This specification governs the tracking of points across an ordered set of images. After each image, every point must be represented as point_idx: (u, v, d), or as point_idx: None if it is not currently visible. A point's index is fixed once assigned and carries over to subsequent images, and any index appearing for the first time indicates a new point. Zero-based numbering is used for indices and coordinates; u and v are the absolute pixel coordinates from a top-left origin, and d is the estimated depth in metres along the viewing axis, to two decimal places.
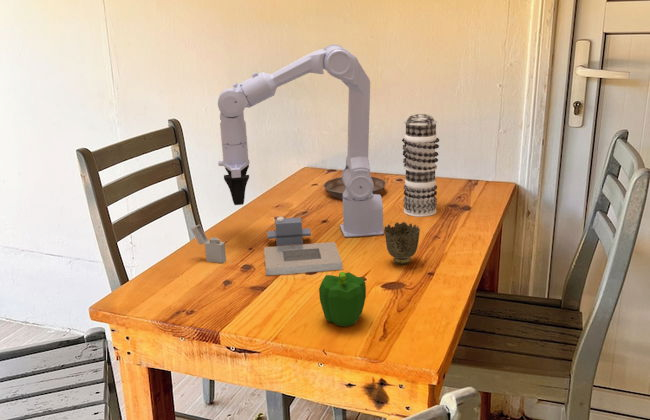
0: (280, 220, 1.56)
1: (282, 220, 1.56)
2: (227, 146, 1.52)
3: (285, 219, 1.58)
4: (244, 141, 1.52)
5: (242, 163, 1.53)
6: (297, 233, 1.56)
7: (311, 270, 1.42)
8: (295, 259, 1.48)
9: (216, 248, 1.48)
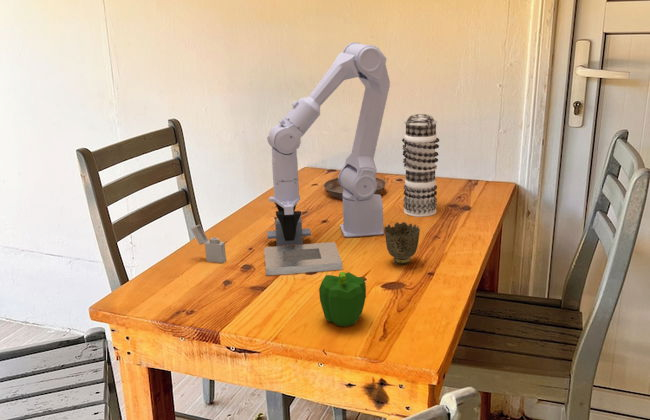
0: None
1: None
2: (279, 182, 1.51)
3: None
4: (297, 176, 1.53)
5: (293, 199, 1.53)
6: (297, 233, 1.56)
7: (311, 270, 1.42)
8: (295, 259, 1.48)
9: (216, 248, 1.48)
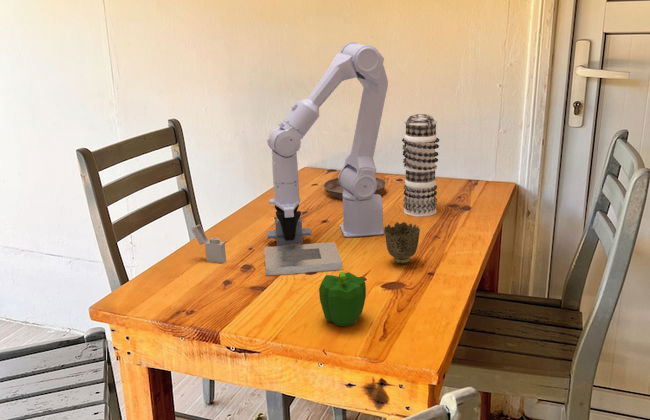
0: None
1: None
2: (279, 185, 1.52)
3: None
4: (297, 179, 1.53)
5: (294, 202, 1.53)
6: (297, 233, 1.56)
7: (311, 270, 1.42)
8: (295, 259, 1.48)
9: (216, 248, 1.48)
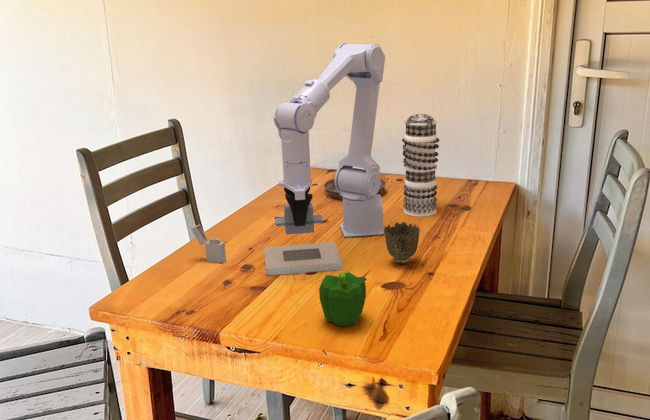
0: (289, 206, 1.43)
1: None
2: (289, 165, 1.39)
3: None
4: None
5: (305, 183, 1.40)
6: (308, 220, 1.43)
7: (311, 270, 1.42)
8: (295, 259, 1.48)
9: (216, 248, 1.48)
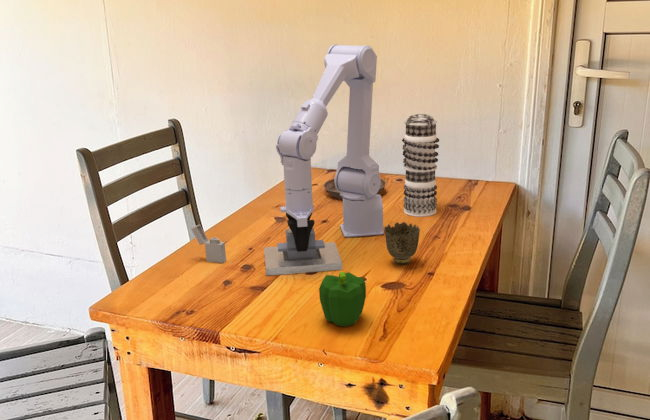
0: (291, 231, 1.44)
1: None
2: (291, 192, 1.40)
3: None
4: None
5: (307, 210, 1.41)
6: (310, 245, 1.45)
7: (311, 270, 1.42)
8: (295, 259, 1.48)
9: (216, 248, 1.48)
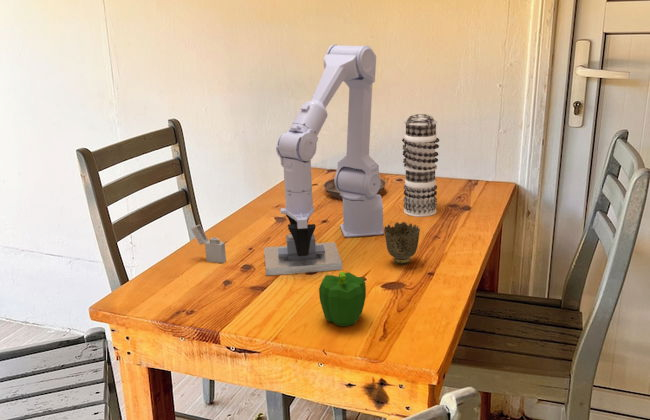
0: (292, 237, 1.45)
1: None
2: (291, 193, 1.40)
3: None
4: None
5: (307, 211, 1.42)
6: (310, 251, 1.45)
7: (311, 270, 1.42)
8: None
9: (216, 248, 1.48)
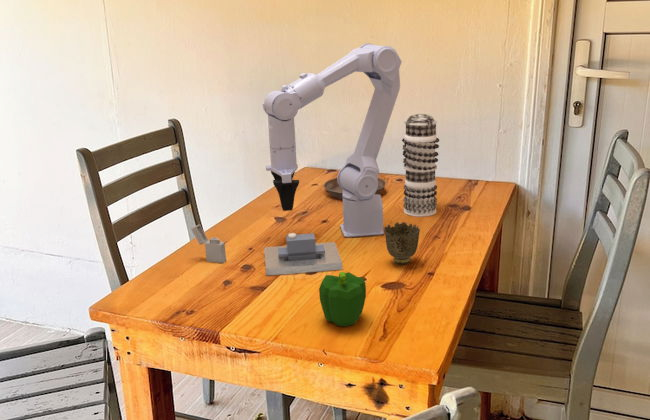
0: (292, 237, 1.45)
1: (294, 237, 1.45)
2: (276, 150, 1.47)
3: (297, 235, 1.47)
4: (295, 144, 1.49)
5: (291, 168, 1.49)
6: (310, 251, 1.45)
7: (311, 270, 1.42)
8: None
9: (216, 248, 1.48)
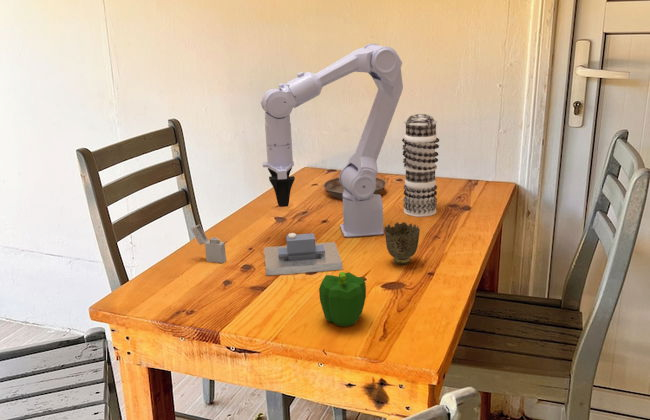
0: (292, 237, 1.45)
1: (294, 237, 1.45)
2: (272, 147, 1.50)
3: (297, 235, 1.47)
4: (290, 142, 1.51)
5: (287, 164, 1.51)
6: (310, 251, 1.45)
7: (311, 270, 1.42)
8: None
9: (216, 248, 1.48)
